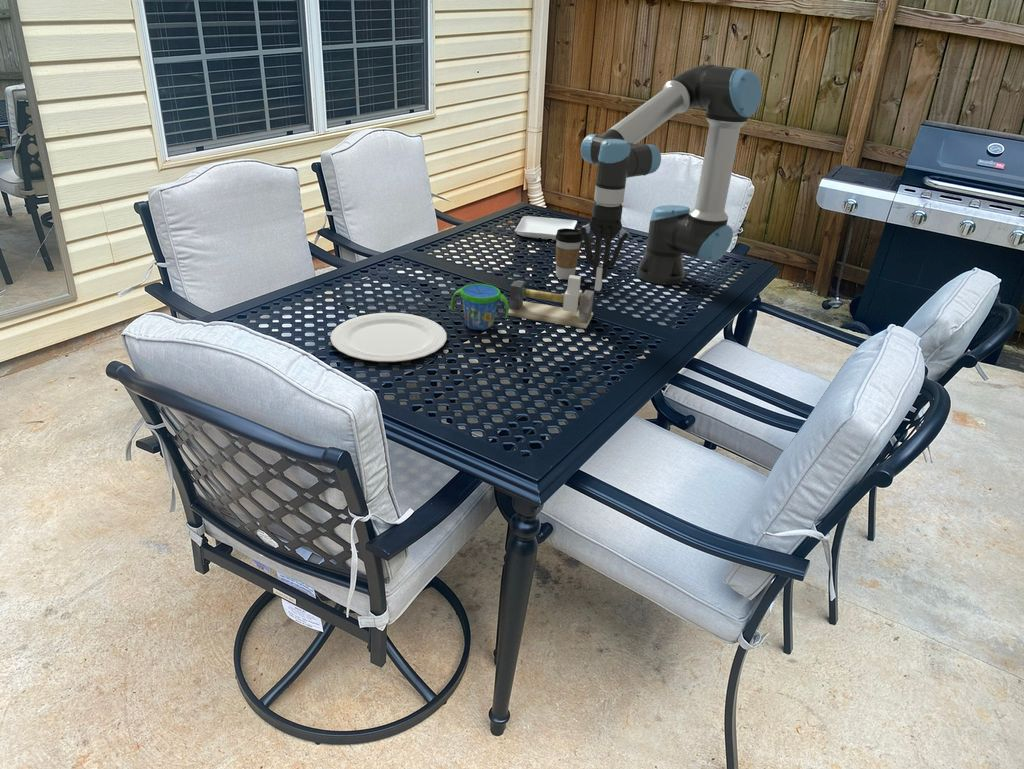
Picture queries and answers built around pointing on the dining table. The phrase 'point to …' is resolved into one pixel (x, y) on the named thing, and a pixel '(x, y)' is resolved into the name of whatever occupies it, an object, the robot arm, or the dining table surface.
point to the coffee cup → (567, 252)
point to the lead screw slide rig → (549, 307)
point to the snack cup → (479, 305)
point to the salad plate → (543, 227)
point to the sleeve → (572, 294)
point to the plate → (388, 337)
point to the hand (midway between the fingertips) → (597, 289)
